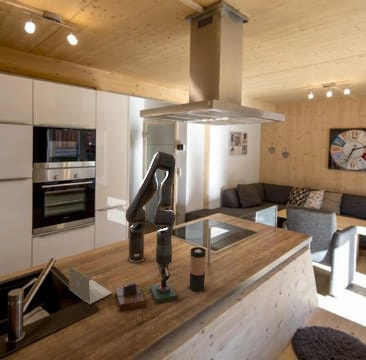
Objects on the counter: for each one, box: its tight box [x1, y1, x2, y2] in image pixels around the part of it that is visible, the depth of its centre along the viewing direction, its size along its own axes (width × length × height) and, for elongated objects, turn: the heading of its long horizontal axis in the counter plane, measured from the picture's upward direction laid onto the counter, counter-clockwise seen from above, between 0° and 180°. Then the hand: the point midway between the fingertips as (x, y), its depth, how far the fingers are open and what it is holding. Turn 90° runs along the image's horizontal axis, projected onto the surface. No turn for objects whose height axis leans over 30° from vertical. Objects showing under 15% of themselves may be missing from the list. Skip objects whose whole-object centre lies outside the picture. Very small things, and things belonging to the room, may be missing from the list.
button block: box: [149, 282, 178, 304], centre depth 135 cm, size 12×10×4 cm
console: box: [115, 284, 146, 312], centre depth 130 cm, size 14×11×3 cm
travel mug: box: [189, 246, 207, 292], centre depth 140 cm, size 8×8×20 cm
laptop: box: [68, 265, 113, 305], centre depth 135 cm, size 18×12×13 cm
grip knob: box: [122, 282, 138, 297], centre depth 129 cm, size 6×2×5 cm, turn 122°
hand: (163, 286), depth 134 cm, fingers closed
